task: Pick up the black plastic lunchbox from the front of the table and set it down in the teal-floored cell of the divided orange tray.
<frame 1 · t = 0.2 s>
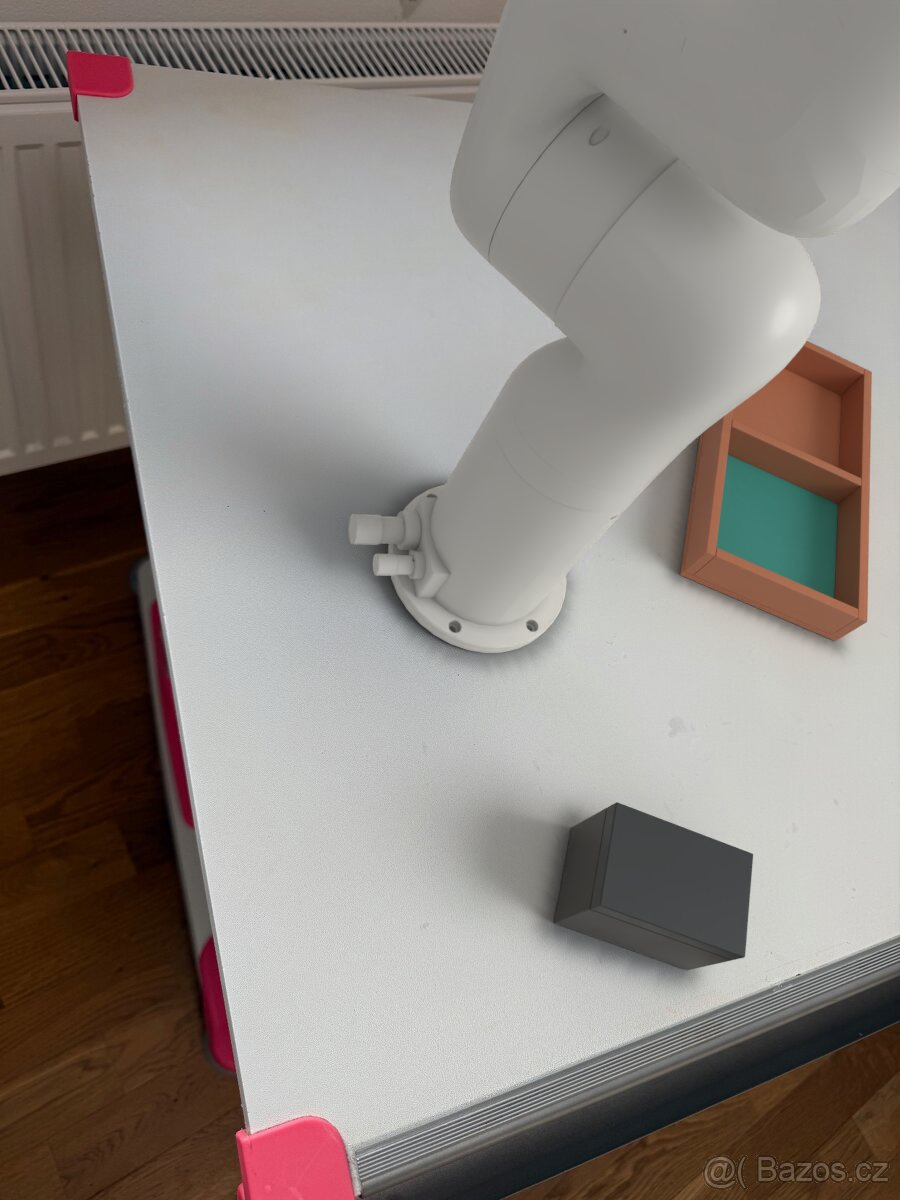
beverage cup: (754, 246, 94), on the table
divided orange tray: (770, 477, 80), on the table
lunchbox: (628, 897, 59), on the table
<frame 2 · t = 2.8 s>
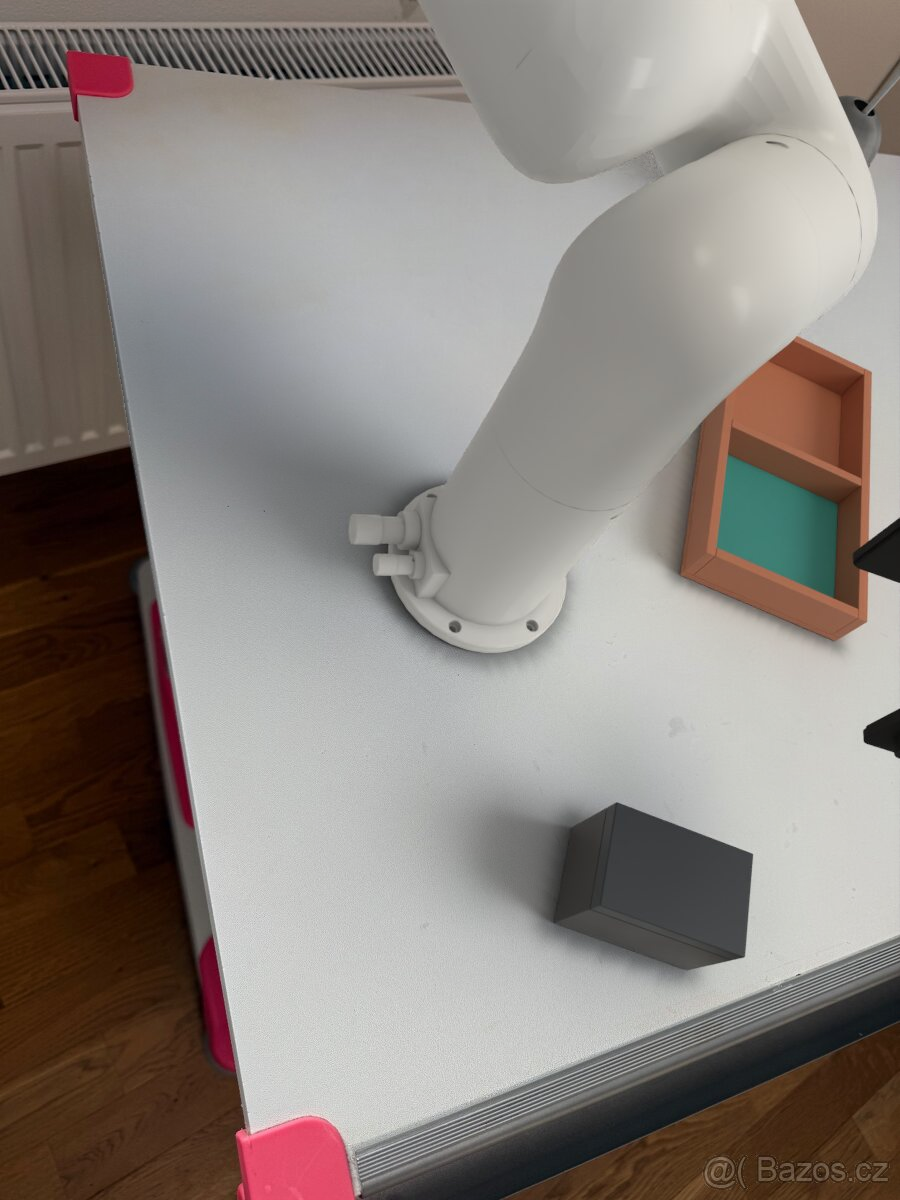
hand: (882, 653, 47), 21 cm above the table, tool pointing down, fingers open, 9 cm apart
nothing on the table moved.
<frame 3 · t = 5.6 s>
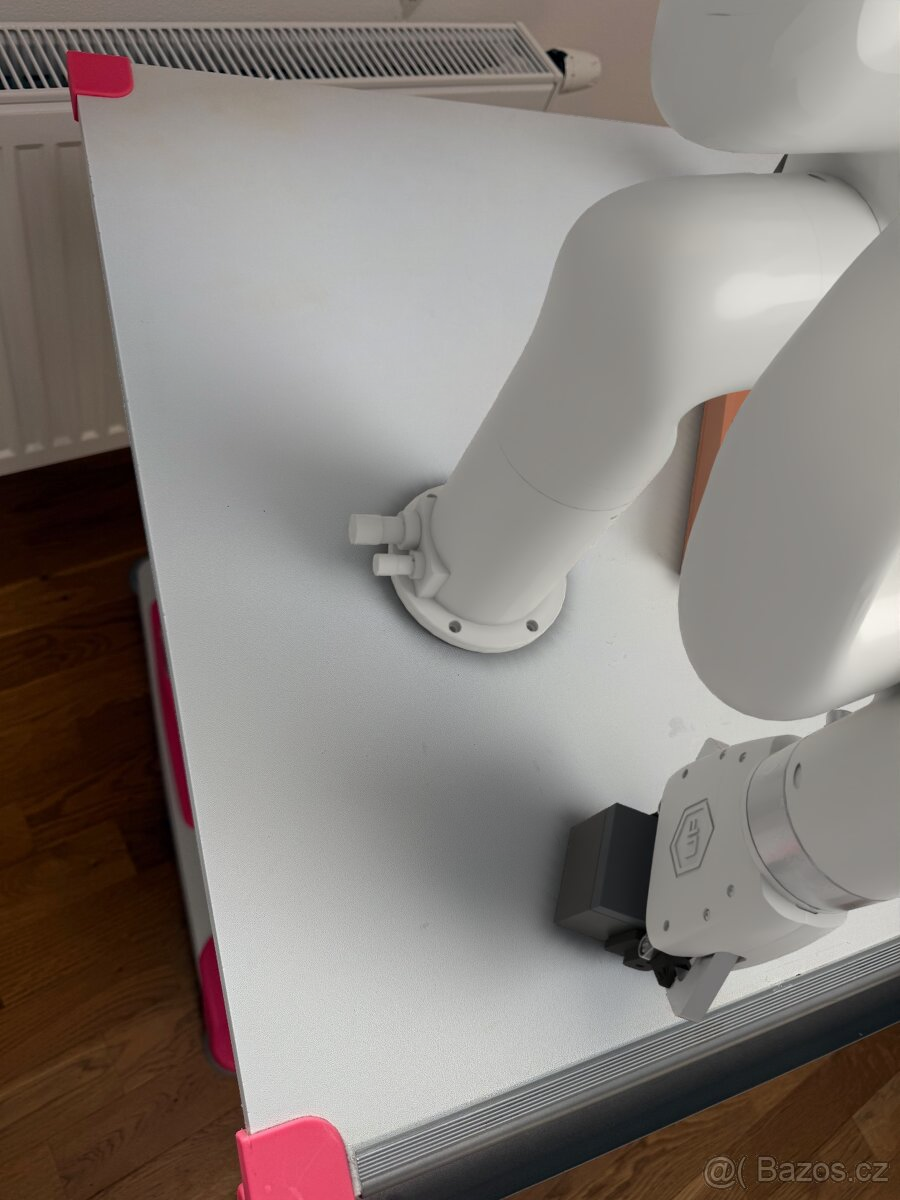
hand: (636, 895, 58), 1 cm above the table, tool pointing down, fingers closed on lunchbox, 6 cm apart
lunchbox: (628, 898, 59), on the table, touching gripper
everything else where it was.
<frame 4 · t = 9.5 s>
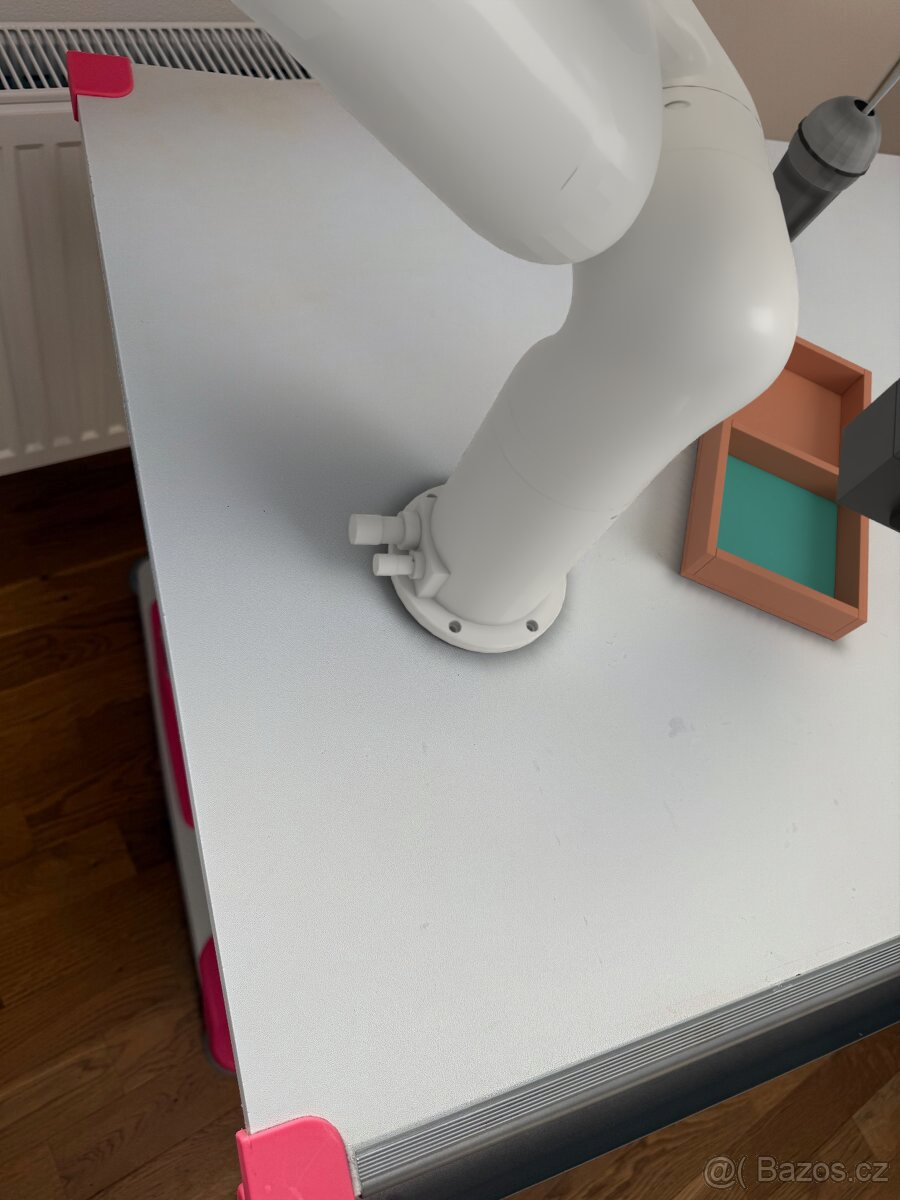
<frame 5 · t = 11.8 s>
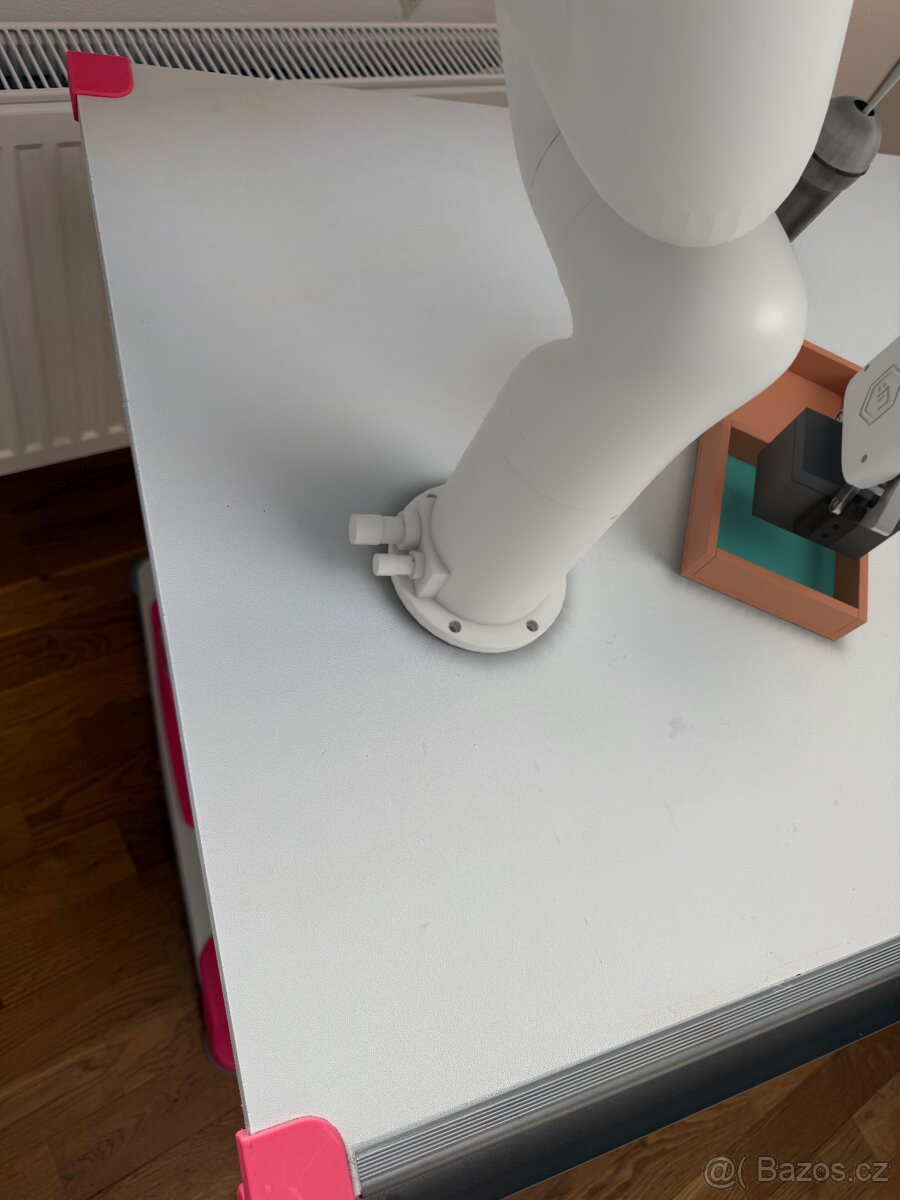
hand: (813, 499, 72), 6 cm above the table, tool pointing down, fingers closed on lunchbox, 6 cm apart
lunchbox: (806, 507, 73), point 5 cm above the table, touching gripper
everything else where it was.
when the fingers open (2 cm above the table, at t = 13.4 s): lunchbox stays where it is, resting on divided orange tray.
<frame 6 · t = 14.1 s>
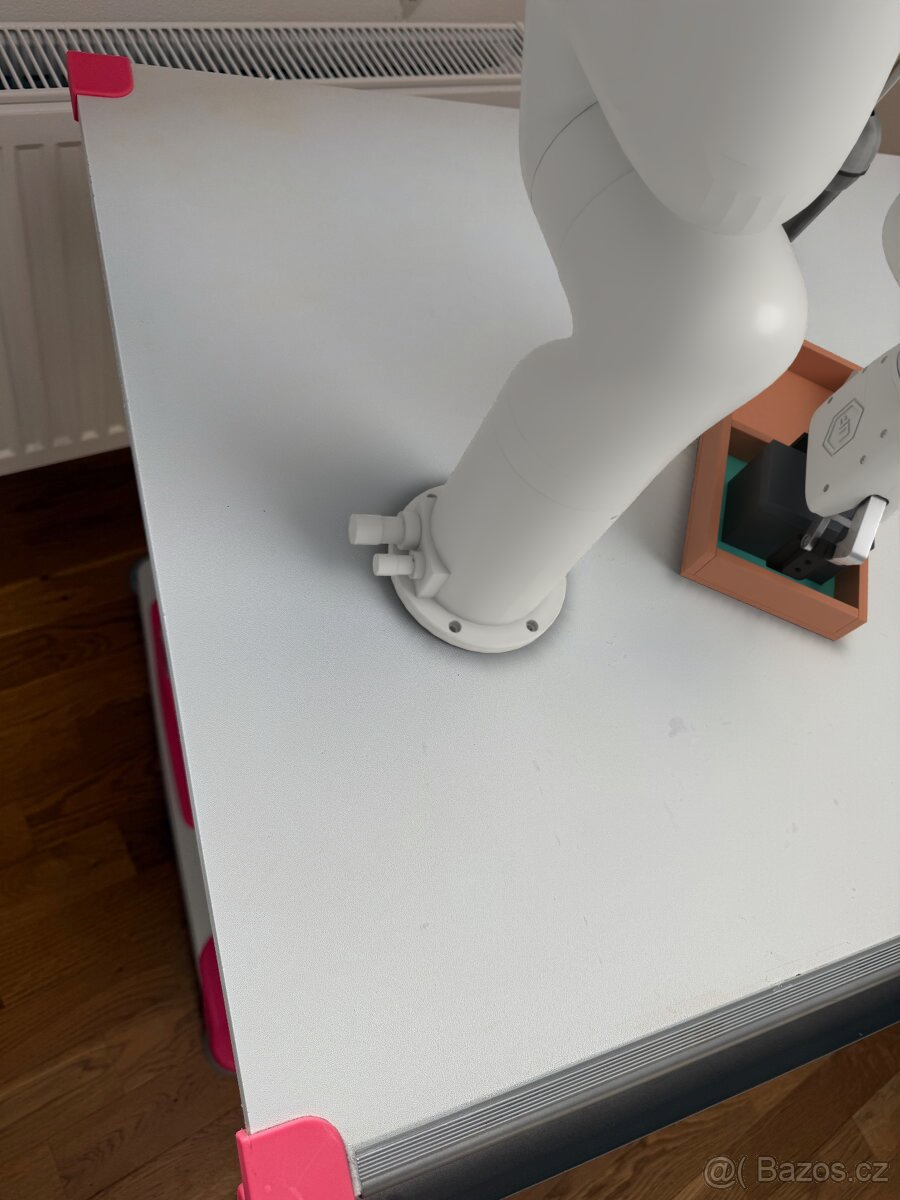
hand: (786, 519, 74), 3 cm above the table, tool pointing down, fingers open, 9 cm apart
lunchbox: (774, 533, 76), point 1 cm above the table, touching divided orange tray
everything else where it was.
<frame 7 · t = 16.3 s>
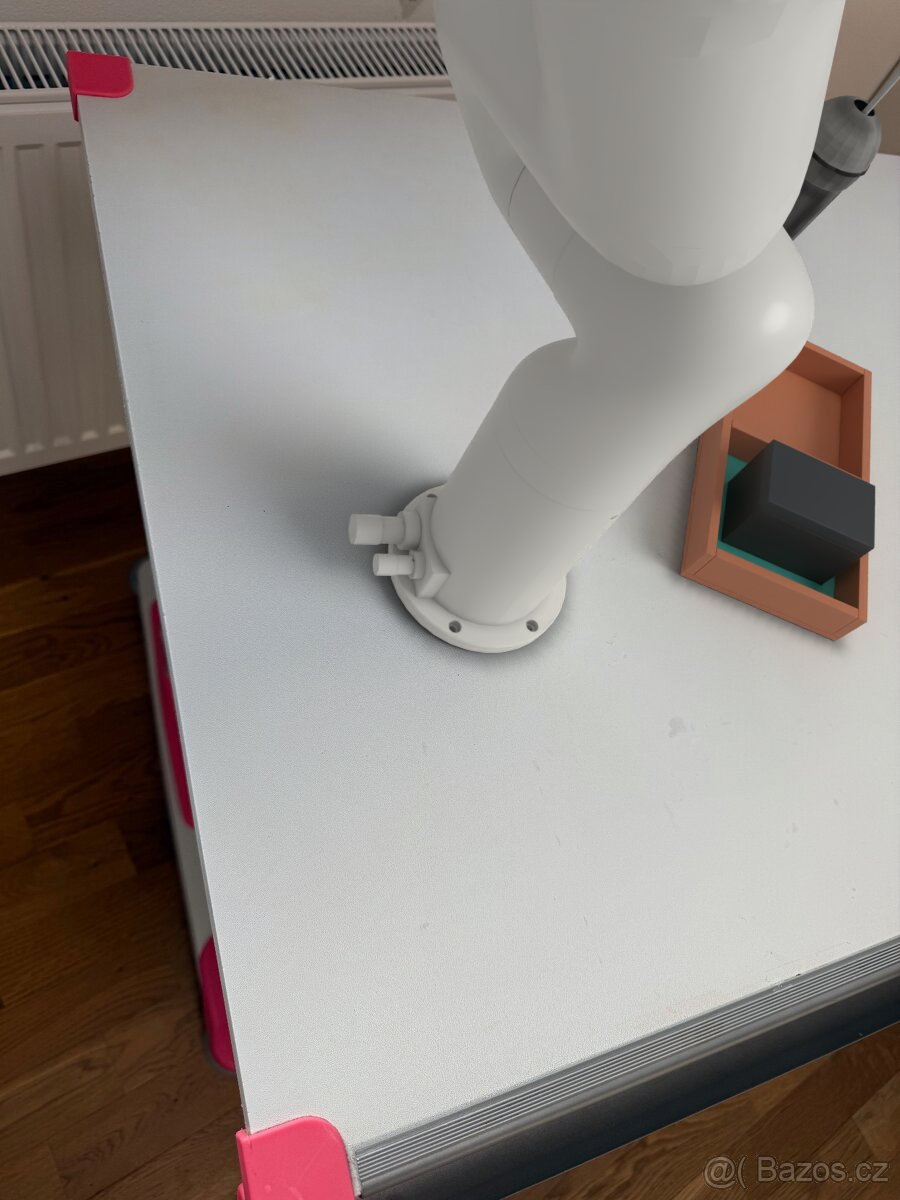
nothing on the table moved.
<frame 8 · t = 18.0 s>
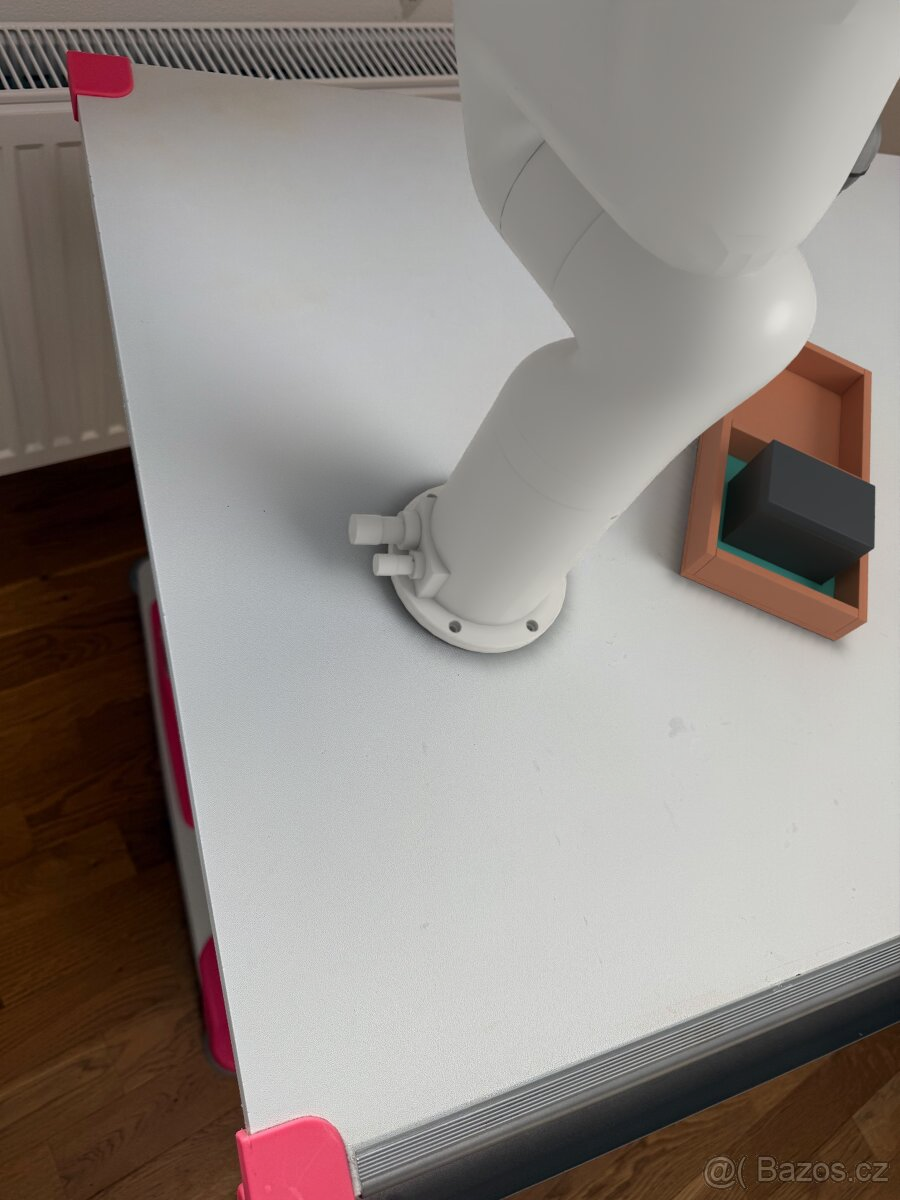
nothing on the table moved.
at the end: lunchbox 0.4 cm from the target spot in the divided orange tray, point 0.8 cm above the divided orange tray's base; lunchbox tilted 0°; the gripper is holding nothing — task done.
